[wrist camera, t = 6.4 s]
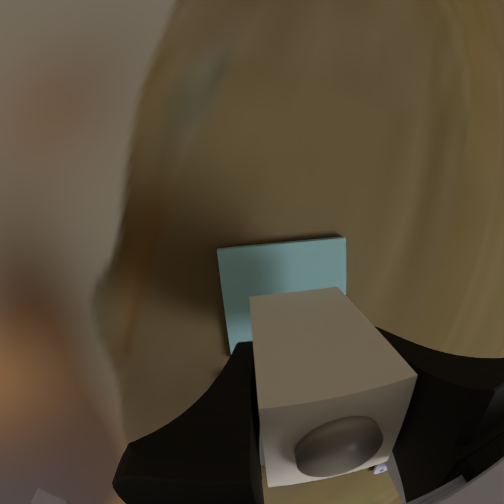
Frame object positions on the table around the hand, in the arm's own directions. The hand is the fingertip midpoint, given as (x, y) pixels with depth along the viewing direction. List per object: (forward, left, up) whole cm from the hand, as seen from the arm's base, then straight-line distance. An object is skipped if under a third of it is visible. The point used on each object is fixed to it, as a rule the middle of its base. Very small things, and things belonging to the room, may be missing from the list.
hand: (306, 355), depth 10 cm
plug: (0, 0, -2) cm, 2 cm away
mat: (0, 0, -6) cm, 6 cm away
